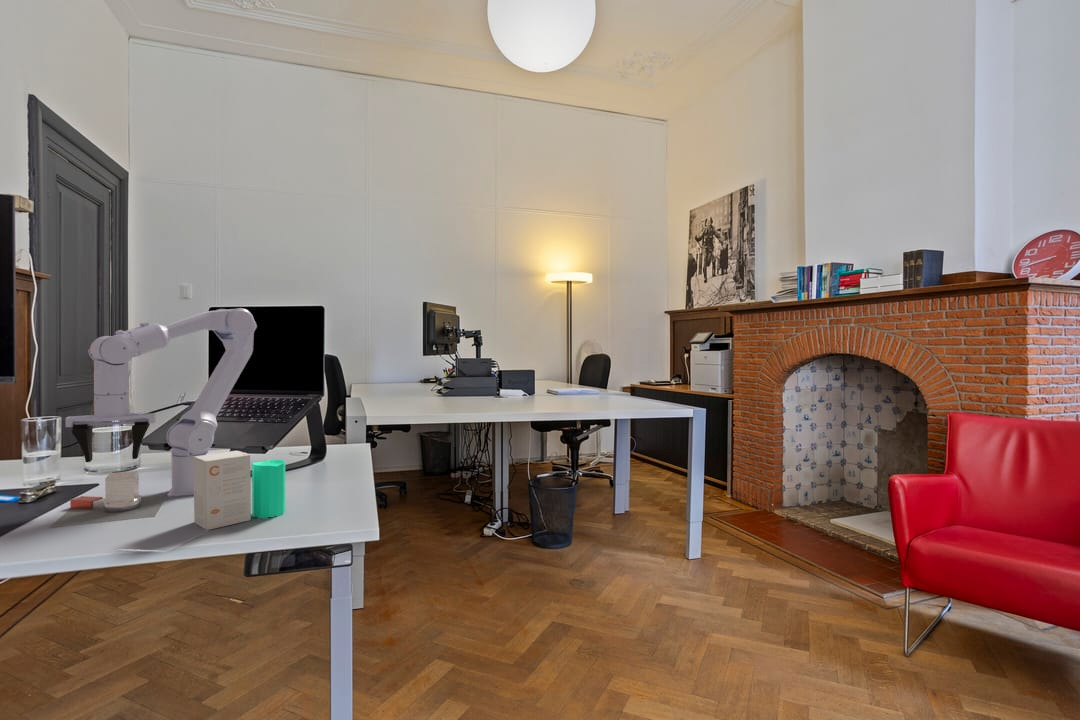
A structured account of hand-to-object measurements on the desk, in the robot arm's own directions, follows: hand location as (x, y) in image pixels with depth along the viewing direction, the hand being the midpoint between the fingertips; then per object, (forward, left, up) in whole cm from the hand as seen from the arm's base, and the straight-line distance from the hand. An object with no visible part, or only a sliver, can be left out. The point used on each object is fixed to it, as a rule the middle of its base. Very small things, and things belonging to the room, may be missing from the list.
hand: (112, 459), depth 113 cm
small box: (-21, +20, -10) cm, 30 cm away
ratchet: (+1, +1, -10) cm, 10 cm away
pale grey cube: (-2, +3, -8) cm, 8 cm away
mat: (-1, +4, -10) cm, 11 cm away
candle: (-29, +18, -10) cm, 35 cm away
